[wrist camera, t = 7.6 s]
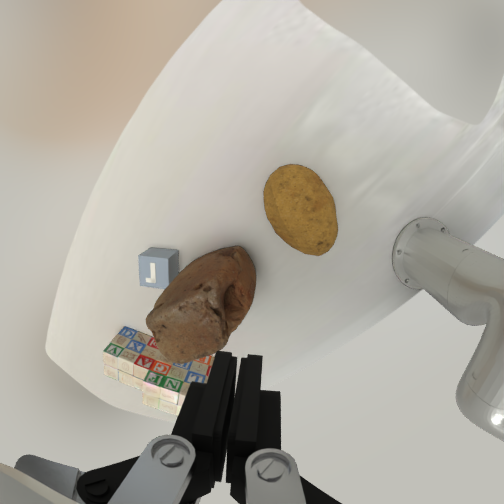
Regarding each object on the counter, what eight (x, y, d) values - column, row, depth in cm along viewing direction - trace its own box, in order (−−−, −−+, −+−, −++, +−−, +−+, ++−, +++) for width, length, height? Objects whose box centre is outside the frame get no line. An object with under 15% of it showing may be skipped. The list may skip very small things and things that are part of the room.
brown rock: (205, 300, 48) (167, 374, 29) (183, 262, 46) (130, 319, 27) (262, 276, 46) (256, 346, 27) (242, 234, 44) (219, 281, 25)
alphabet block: (178, 250, 46) (167, 259, 41) (178, 278, 47) (168, 290, 42) (151, 247, 46) (137, 255, 41) (151, 275, 47) (139, 286, 42)
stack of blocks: (123, 349, 53) (96, 384, 41) (124, 325, 51) (94, 359, 39) (221, 382, 53) (210, 426, 41) (228, 360, 51) (217, 405, 39)
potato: (286, 278, 36) (356, 252, 34) (243, 180, 34) (315, 149, 31) (290, 258, 45) (345, 236, 43) (256, 179, 43) (312, 155, 40)
